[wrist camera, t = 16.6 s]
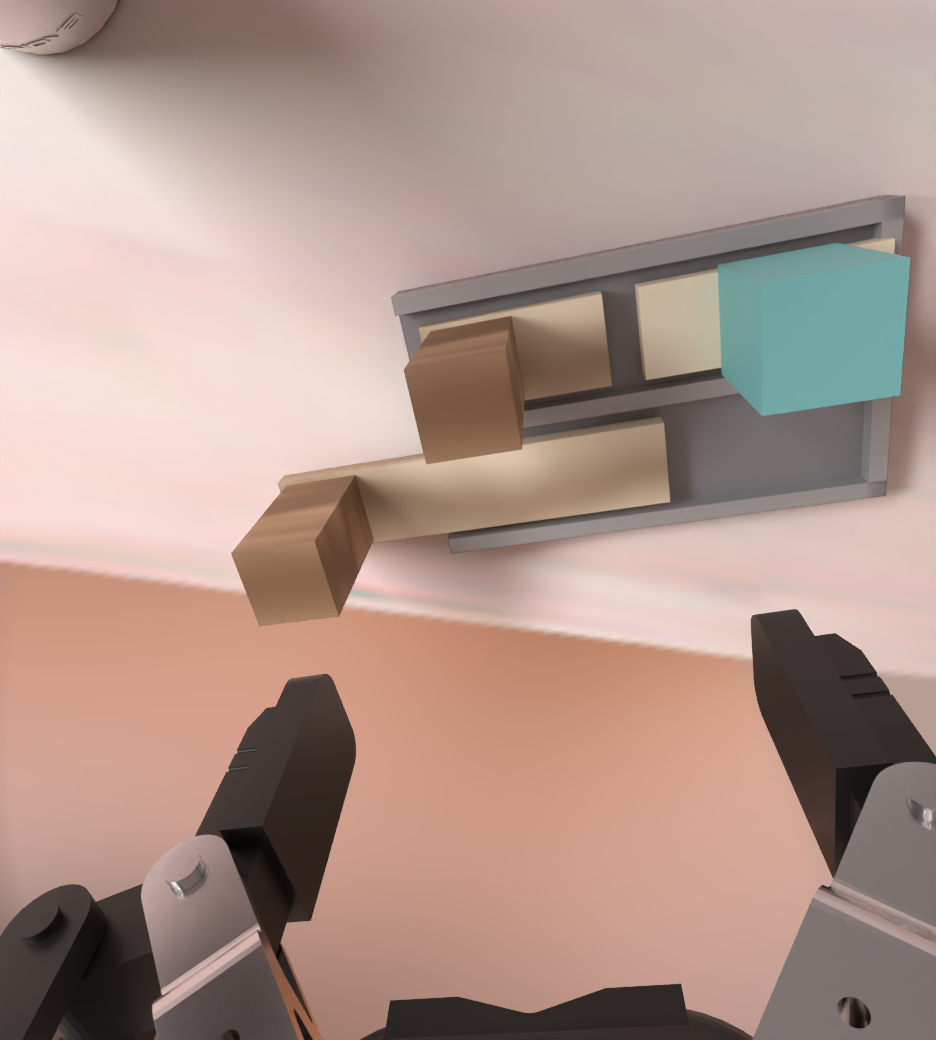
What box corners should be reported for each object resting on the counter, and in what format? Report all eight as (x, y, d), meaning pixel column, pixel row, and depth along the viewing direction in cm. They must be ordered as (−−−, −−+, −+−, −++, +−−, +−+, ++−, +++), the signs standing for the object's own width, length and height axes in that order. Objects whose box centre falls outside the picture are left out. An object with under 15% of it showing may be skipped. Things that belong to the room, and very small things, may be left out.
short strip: (421, 324, 31) (388, 366, 24) (599, 290, 30) (620, 324, 23) (440, 408, 33) (414, 471, 26) (609, 380, 32) (631, 437, 25)
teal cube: (717, 264, 28) (760, 284, 23) (837, 242, 27) (910, 257, 22) (721, 374, 30) (762, 416, 25) (833, 356, 29) (900, 395, 24)
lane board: (398, 291, 32) (389, 299, 30) (884, 195, 29) (911, 196, 27) (454, 537, 37) (450, 558, 35) (869, 480, 34) (890, 499, 32)
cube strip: (284, 475, 35) (220, 550, 28) (660, 416, 32) (696, 483, 25) (306, 544, 37) (252, 631, 30) (666, 493, 34) (702, 577, 27)
